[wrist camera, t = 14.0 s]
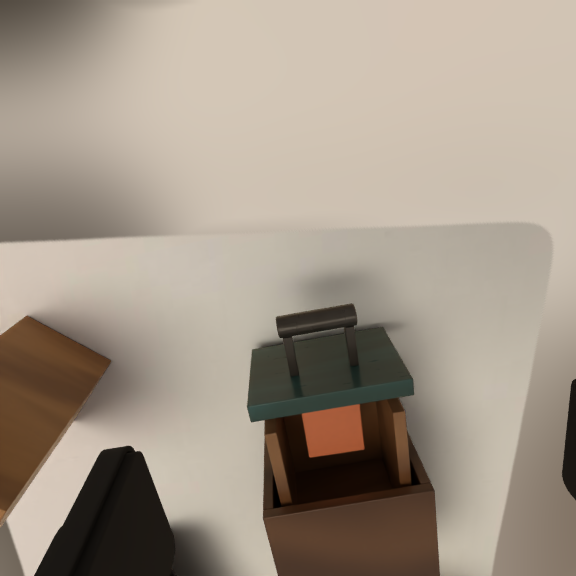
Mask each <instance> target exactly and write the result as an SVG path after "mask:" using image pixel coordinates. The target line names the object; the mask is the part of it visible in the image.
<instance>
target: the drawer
mask: <svg viewBox="0 0 576 576" xmlns="http://www.w3.org/2000/svg"><path fill="white" fill-rule="evenodd" d="M276 324H277V330H278V335H279V337H280V338H283V342H284V344H282V345H276V346H270V347H264V348H259V349H253V350H252V357H251V368H250V380H249V391H248V403H247V409H248V413H249V417H250V421H251V422H256V421H262V420H265V430H264V436H265V440H266V444H267V448H268V452H269V457H270V461H271V465H272V469H273V473H274V477H275V482H276V486H277V490H278V494H279V498H280V503H281V507H286V506H292V505H298V504H304V503H310V502H316V501H322V500H329V499H335V498H341V497H347V496H353V495H359V494H365V493H371V492H378V491H384V490H390V489H396V488H402V487H408V486H412V483H411V471H410V460H409V449H408V438H407V426H406V415H405V410H404V408H403V406H402V404H401V402H400V400H399V398H398V397H404V396H410V395H414V386H413V378H412V376H411V375H410V373H409V371H408V370H407V368H406V366H405V364H404V363H403V361H402V359H401V357H400V356H399V354H398V352H397V351H396V349H395V347H394V345H393V344H392V342H391V340H390V338H389V337H388V335H387V333H386V331H385V330H384V328H383V327H380V328H374V329H368V330H363V331H357V332H355V330H354V325H357V315H356V310H355V306H354V304H352V303H351V304H345V305H340V306H334V307H328V308H322V309H317V310H311V311H305V312H300V313H294V314H288V315H282V316H277V317H276ZM342 327H344V332H345V334H339V335H334V336H328V337H322V338H316V339H311V340H305V341H299V342H293V338H292V336H296V335H302V334H308V333H313V332H319V331H325V330H331V329H337V328H342ZM357 404H360V411H361V420H362V429H363V437H364V446H365V449H364V450H358V451H351V452H345V453H338V454H331V455H325V456H318V457H312V458H310V457H309V453H308V448H307V442H306V436H305V430H304V425H303V419H302V414H303V413H309V412H315V411H321V410H327V409H333V408H339V407H345V406H351V405H357Z"/></svg>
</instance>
